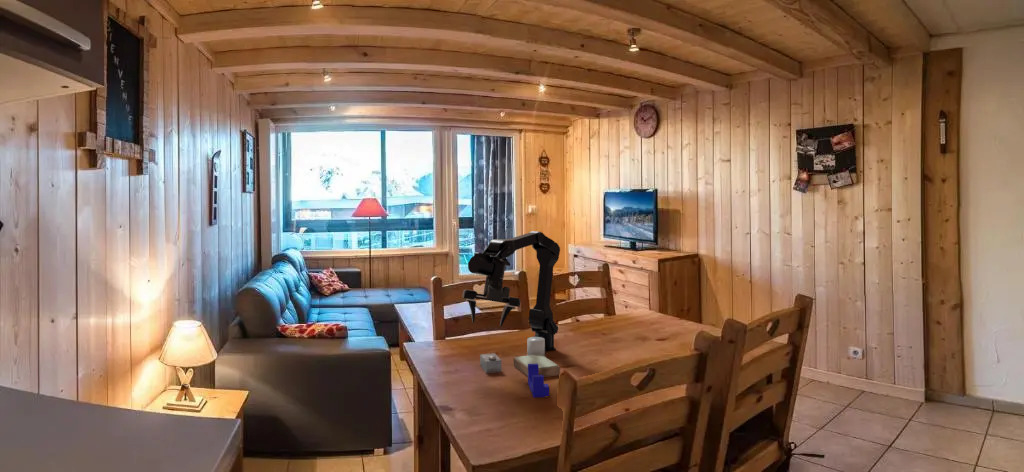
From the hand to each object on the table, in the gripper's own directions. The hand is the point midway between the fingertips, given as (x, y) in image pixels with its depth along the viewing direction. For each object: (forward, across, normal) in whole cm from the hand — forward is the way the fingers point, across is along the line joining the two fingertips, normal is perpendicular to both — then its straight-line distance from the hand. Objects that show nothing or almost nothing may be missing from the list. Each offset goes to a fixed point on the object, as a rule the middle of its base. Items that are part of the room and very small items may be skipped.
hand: (487, 324), depth 175 cm
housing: (+14, +4, 0) cm, 15 cm away
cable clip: (+15, +15, -21) cm, 30 cm away
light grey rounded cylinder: (+10, +20, +7) cm, 23 cm away
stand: (+12, +18, -4) cm, 22 cm away
